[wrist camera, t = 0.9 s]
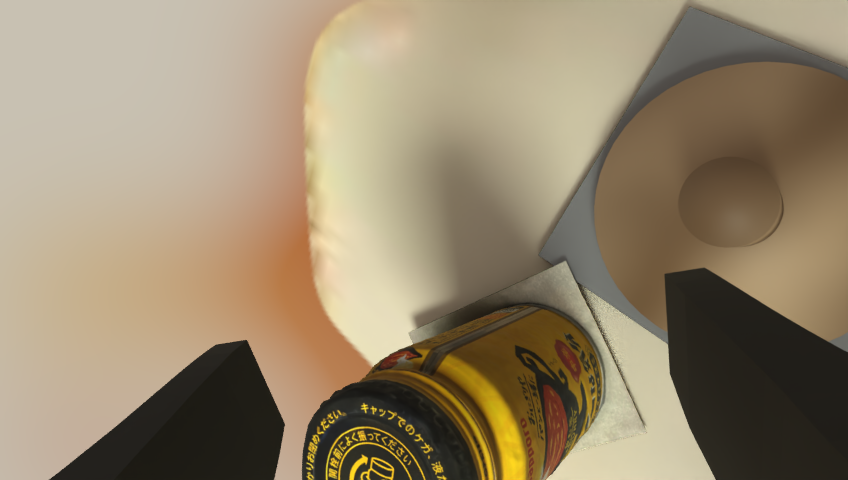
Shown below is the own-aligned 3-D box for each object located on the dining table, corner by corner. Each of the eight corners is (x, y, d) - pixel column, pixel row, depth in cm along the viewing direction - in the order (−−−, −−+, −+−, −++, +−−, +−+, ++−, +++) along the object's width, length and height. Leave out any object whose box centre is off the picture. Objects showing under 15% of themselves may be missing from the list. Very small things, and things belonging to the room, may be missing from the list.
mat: (1037, 145, 17) (1042, 143, 17) (798, 430, 20) (798, 433, 20) (691, 10, 22) (689, 6, 22) (541, 254, 25) (538, 255, 25)
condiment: (648, 430, 23) (541, 613, 13) (472, 479, 27) (285, 647, 17) (567, 259, 24) (412, 301, 14) (411, 331, 28) (203, 403, 18)
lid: (1008, 151, 17) (1072, 122, 13) (792, 412, 20) (790, 454, 16) (694, 24, 22) (669, -26, 18) (554, 251, 25) (505, 253, 21)
